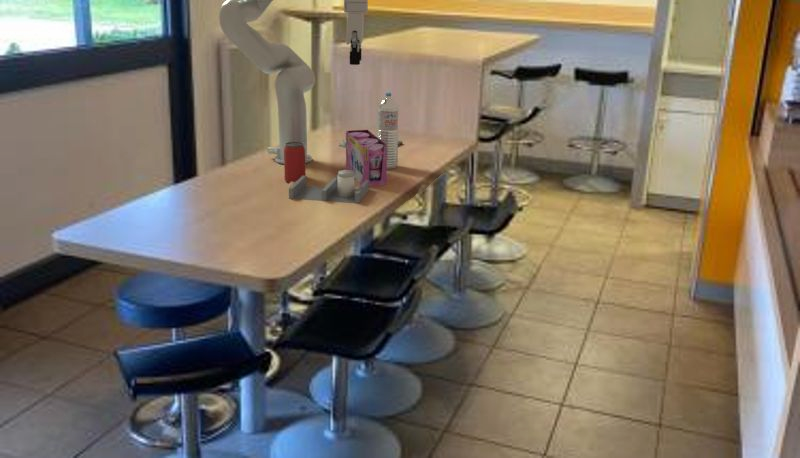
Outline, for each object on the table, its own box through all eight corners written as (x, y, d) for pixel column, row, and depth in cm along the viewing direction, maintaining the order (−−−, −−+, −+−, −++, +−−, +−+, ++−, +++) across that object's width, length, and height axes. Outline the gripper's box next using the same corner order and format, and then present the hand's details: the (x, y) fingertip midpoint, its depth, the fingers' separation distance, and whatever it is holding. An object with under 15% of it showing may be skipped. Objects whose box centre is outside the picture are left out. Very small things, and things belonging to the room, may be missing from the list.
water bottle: (398, 164, 276) (399, 91, 268) (396, 169, 270) (397, 95, 262) (378, 163, 277) (379, 90, 269) (376, 169, 271) (376, 94, 262)
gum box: (388, 189, 249) (389, 146, 245) (363, 190, 247) (364, 147, 242) (368, 169, 271) (368, 129, 266) (345, 170, 268) (345, 130, 264)
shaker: (335, 196, 237) (335, 173, 234) (339, 192, 241) (339, 169, 239) (352, 198, 236) (352, 174, 234) (356, 193, 241) (356, 170, 238)
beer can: (301, 184, 252) (301, 147, 247) (281, 183, 253) (280, 145, 249) (308, 179, 258) (307, 142, 254) (288, 177, 259) (287, 140, 255)
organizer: (289, 201, 235) (288, 188, 234) (302, 188, 248) (302, 175, 247) (358, 206, 232) (359, 193, 230) (369, 192, 245) (369, 180, 243)
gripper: (345, 5, 264) (345, 58, 270) (341, 9, 248) (342, 66, 253) (368, 6, 264) (368, 59, 270) (366, 10, 248) (366, 66, 253)
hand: (355, 62), depth 261 cm, fingers open, 9 cm apart
